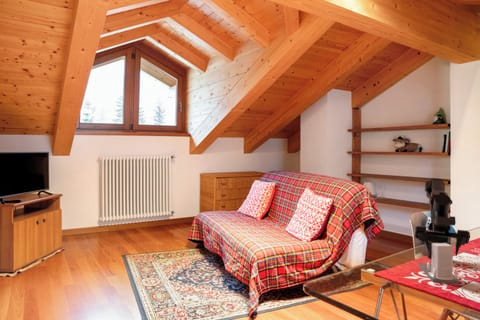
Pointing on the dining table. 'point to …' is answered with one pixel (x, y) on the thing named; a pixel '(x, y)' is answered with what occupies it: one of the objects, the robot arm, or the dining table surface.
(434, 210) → the robot arm
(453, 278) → the tray
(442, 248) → the skincare box
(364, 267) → the dining table surface
